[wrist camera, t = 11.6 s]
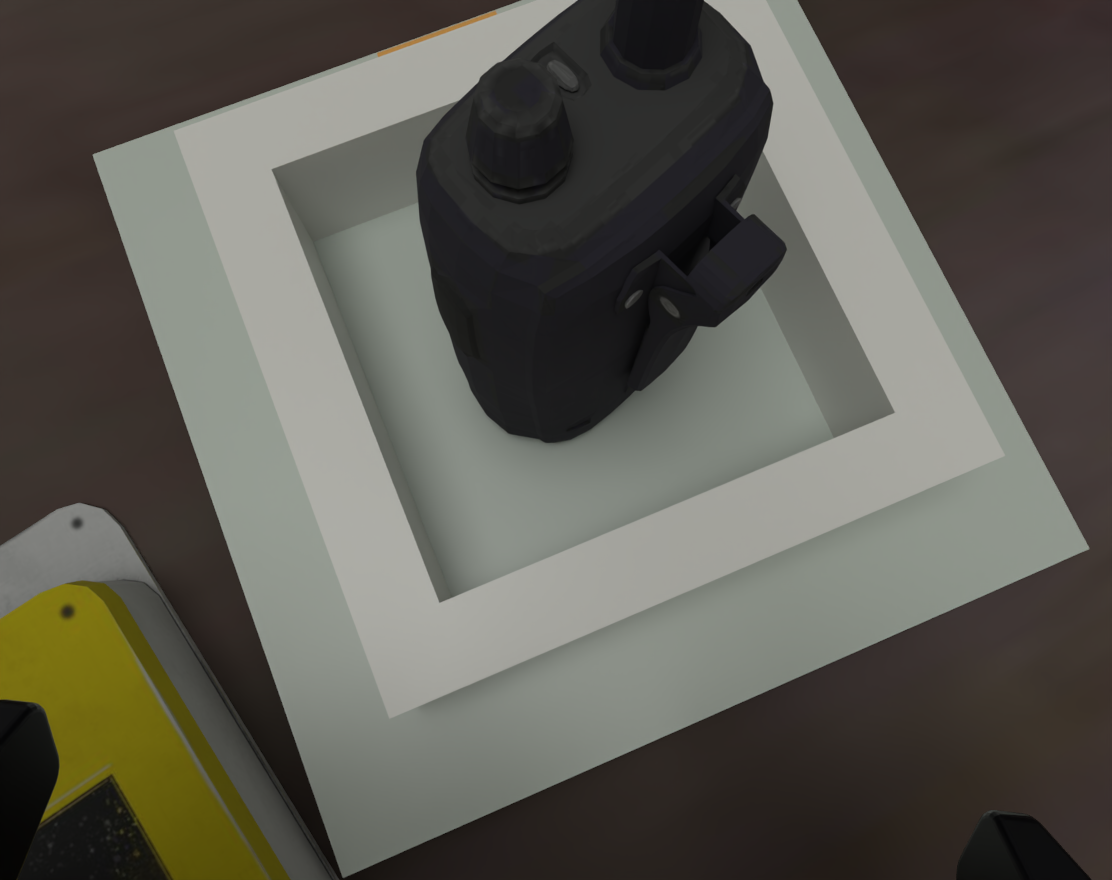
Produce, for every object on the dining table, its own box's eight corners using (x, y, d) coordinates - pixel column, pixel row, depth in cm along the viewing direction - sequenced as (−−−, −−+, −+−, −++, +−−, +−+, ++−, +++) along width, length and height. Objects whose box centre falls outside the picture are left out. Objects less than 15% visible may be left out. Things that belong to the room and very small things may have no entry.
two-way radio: (610, 220, 22) (751, -608, 7) (750, 354, 22) (1203, -256, 7) (432, 380, 21) (195, -194, 7) (572, 525, 21) (653, 249, 6)
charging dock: (1074, 551, 21) (1193, 529, 17) (348, 871, 20) (299, 925, 16) (748, -66, 25) (786, -201, 21) (104, 167, 23) (13, 68, 19)
